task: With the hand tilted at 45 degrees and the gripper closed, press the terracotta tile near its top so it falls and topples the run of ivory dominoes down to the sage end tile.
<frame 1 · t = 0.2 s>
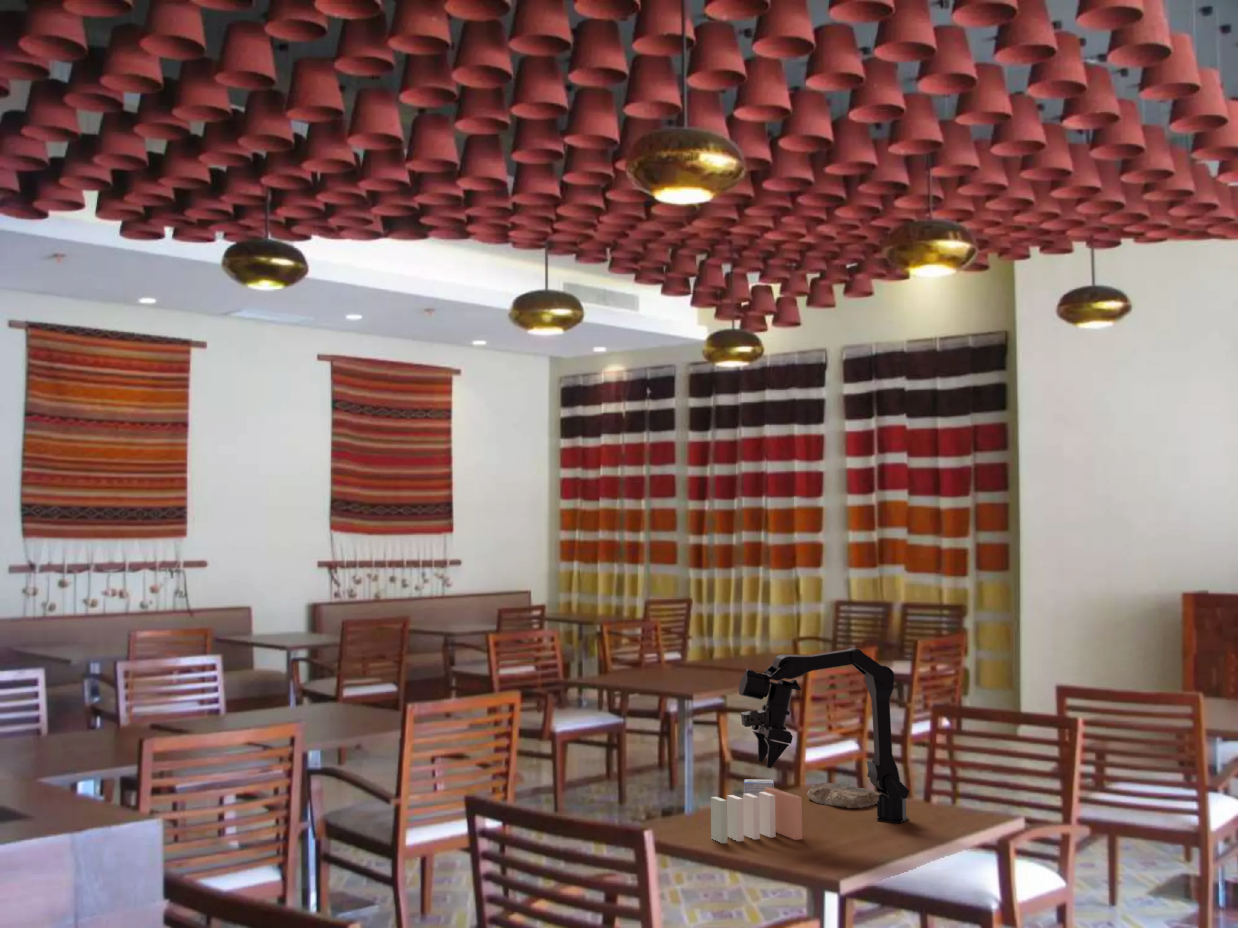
hand: (764, 764, 317), 15 cm above the table, tool pointing down, fingers open, 9 cm apart
ivory domino 3: (751, 836, 305), on the table
ivory domino 2: (767, 834, 307), on the table
terracotta tile: (783, 833, 309), on the table
flat grey rock: (839, 803, 345), on the table
ivory domino 4: (735, 838, 303), on the table
sage domino: (719, 840, 301), on the table
medicine box: (759, 814, 330), on the table
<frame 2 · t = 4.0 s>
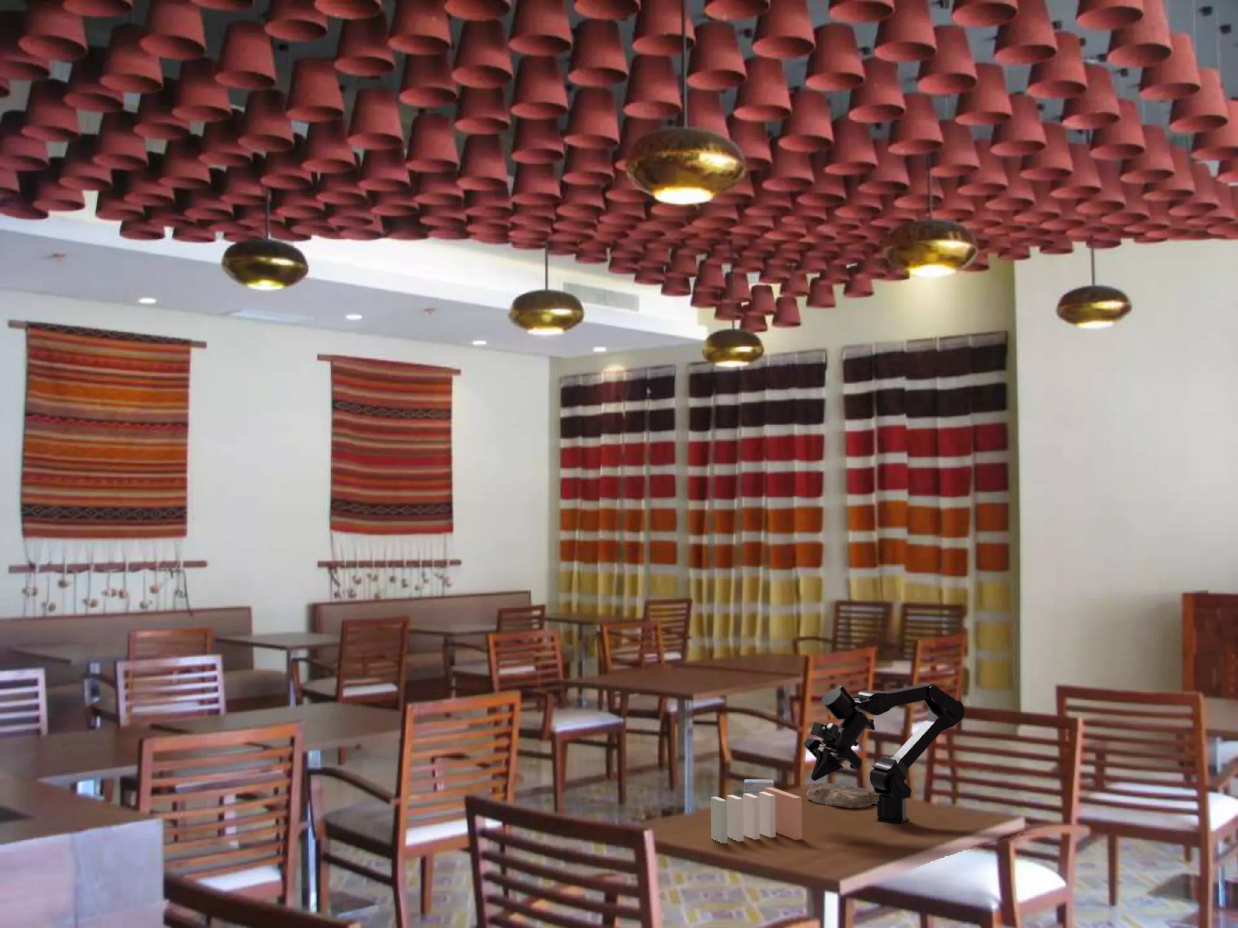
hand: (812, 779, 313), 12 cm above the table, tool tilted 45°, fingers closed
nothing on the table moved.
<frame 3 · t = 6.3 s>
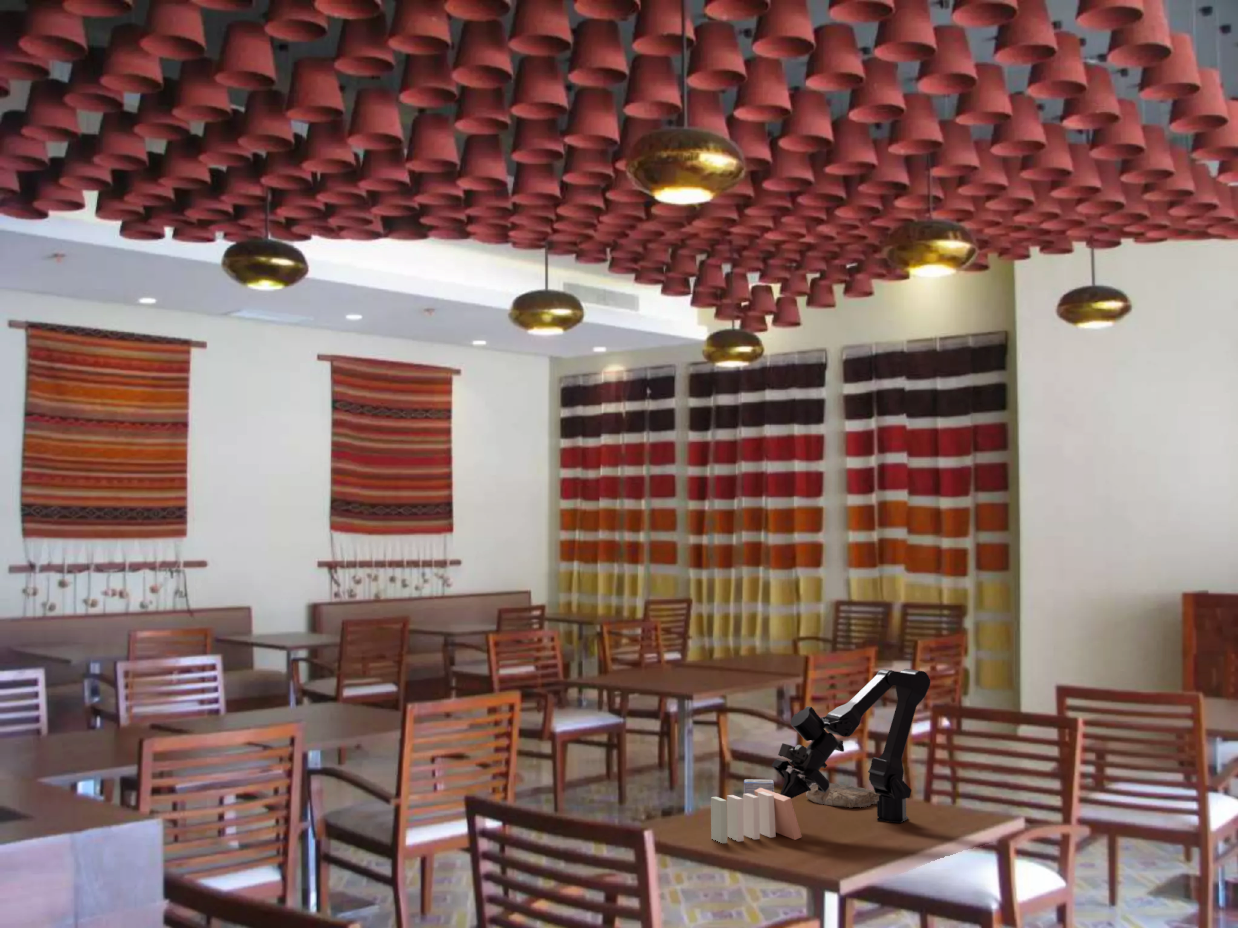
hand: (780, 801, 309), 8 cm above the table, tool tilted 45°, fingers closed
terracotta tile: (783, 832, 309), on the table, tilted 18°
everything else where it was.
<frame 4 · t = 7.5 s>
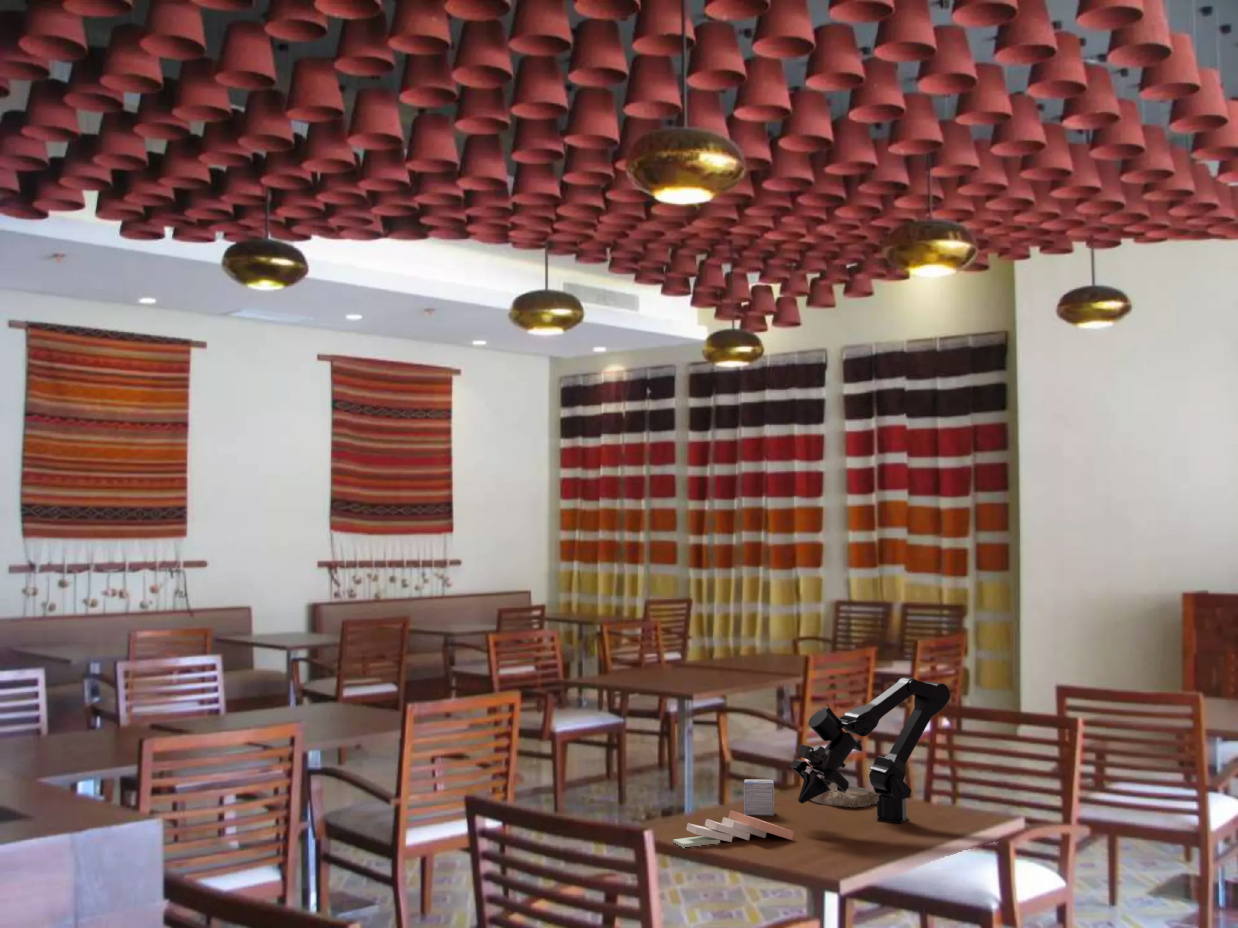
hand: (799, 802, 311), 7 cm above the table, tool tilted 45°, fingers closed
ivory domino 3: (743, 834, 304), point 1 cm above the table, tilted 69°, touching ivory domino 4
ivory domino 2: (760, 832, 306), point 1 cm above the table, tilted 69°, touching terracotta tile
terracotta tile: (776, 829, 308), point 1 cm above the table, tilted 69°, touching ivory domino 2
ivory domino 4: (727, 836, 302), point 1 cm above the table, tilted 74°, touching ivory domino 3, sage domino
sage domino: (714, 840, 301), on the table, tilted 90°, touching ivory domino 4
everything else where it was.
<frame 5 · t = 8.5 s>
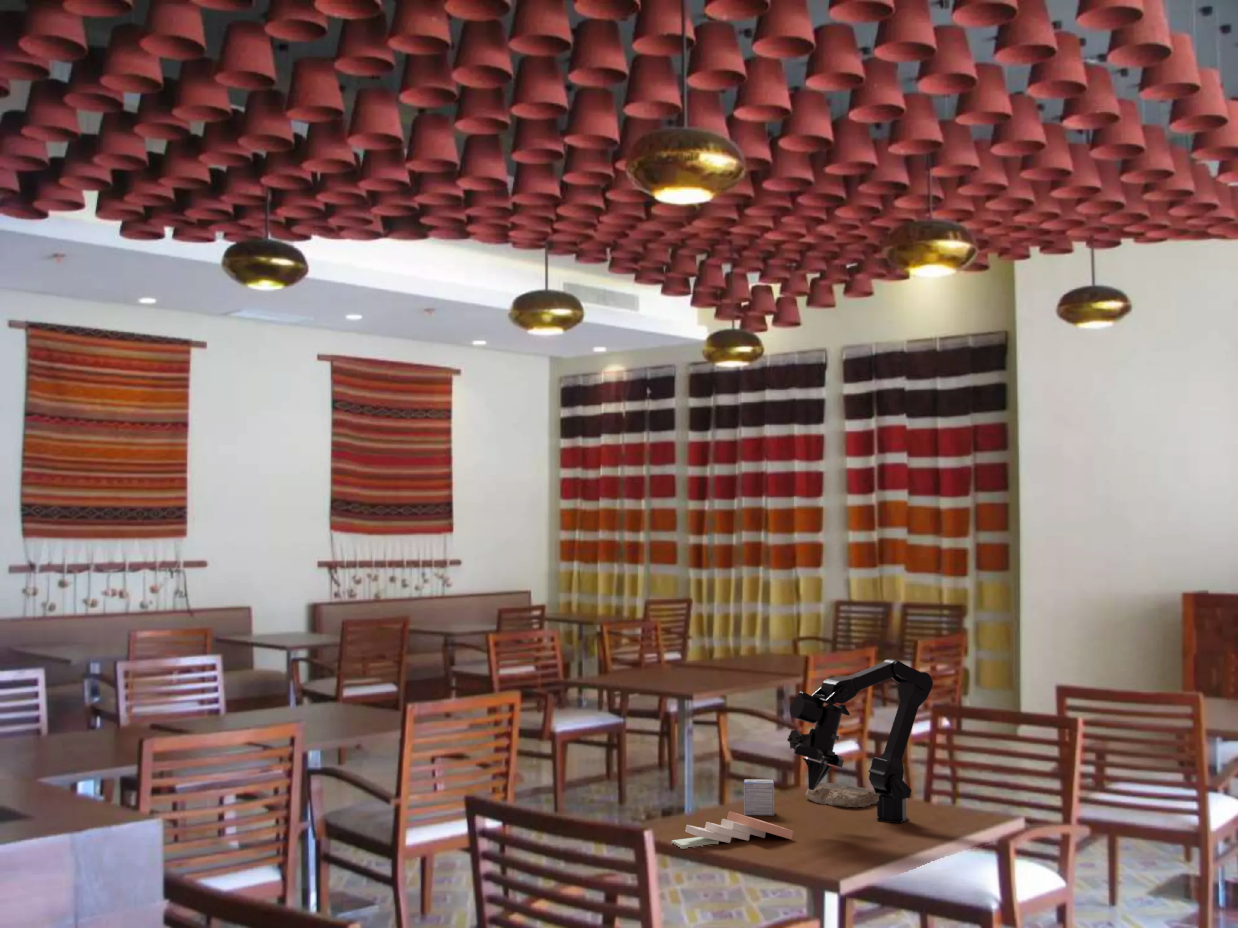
hand: (811, 789, 313), 10 cm above the table, tool tilted 20°, fingers closed
ivory domino 3: (742, 834, 303), point 1 cm above the table, tilted 72°, touching ivory domino 2, ivory domino 4
ivory domino 2: (759, 832, 306), point 1 cm above the table, tilted 71°, touching ivory domino 3, terracotta tile
ivory domino 4: (724, 837, 301), point 1 cm above the table, tilted 74°, touching ivory domino 3, sage domino
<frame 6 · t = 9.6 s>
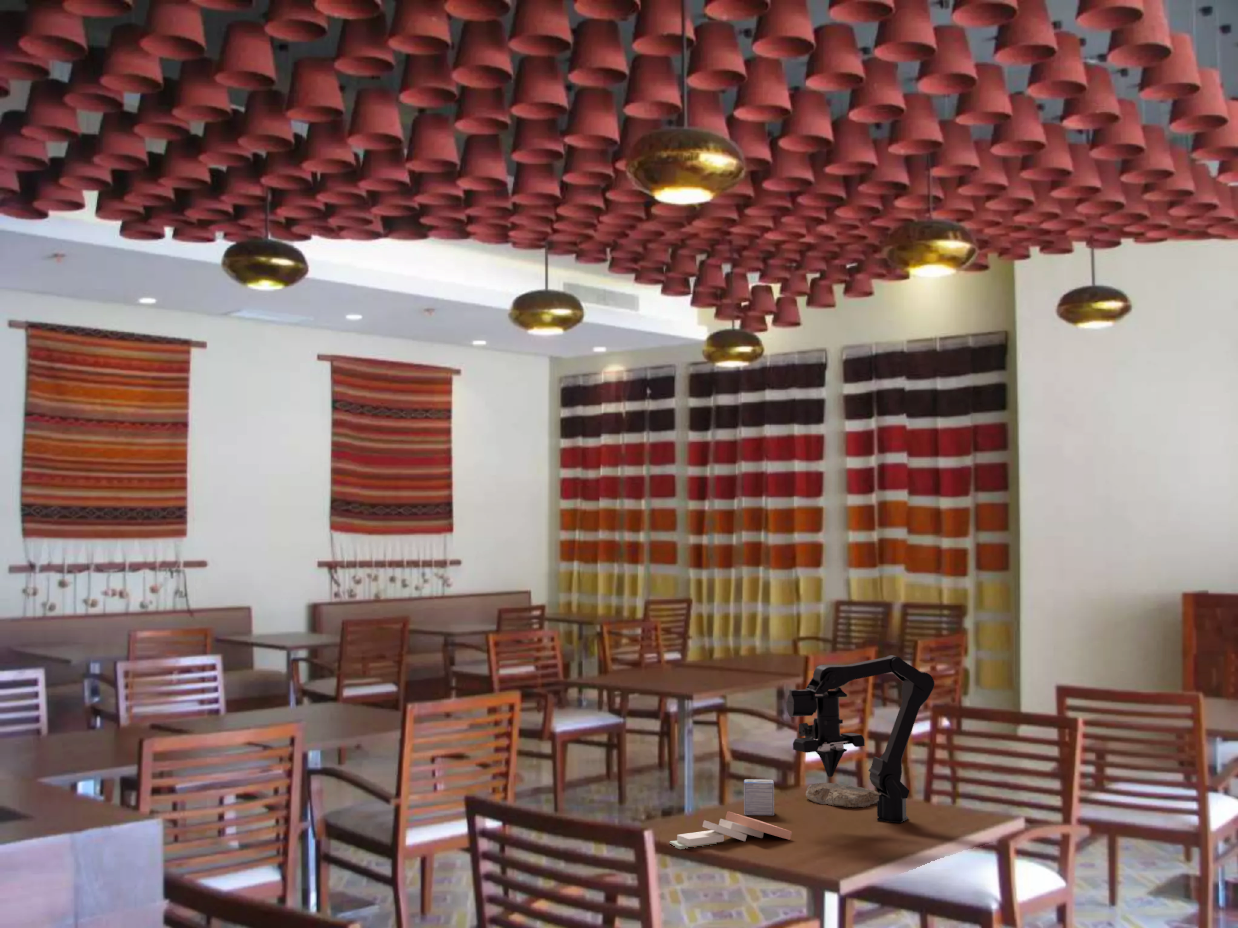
hand: (830, 776, 320), 12 cm above the table, tool pointing down, fingers closed
ivory domino 3: (739, 835, 303), point 1 cm above the table, tilted 68°, touching ivory domino 2
ivory domino 2: (757, 832, 306), point 1 cm above the table, tilted 71°, touching ivory domino 3
terracotta tile: (774, 829, 308), point 1 cm above the table, tilted 71°
ivory domino 4: (717, 835, 300), point 1 cm above the table, tilted 89°, touching sage domino
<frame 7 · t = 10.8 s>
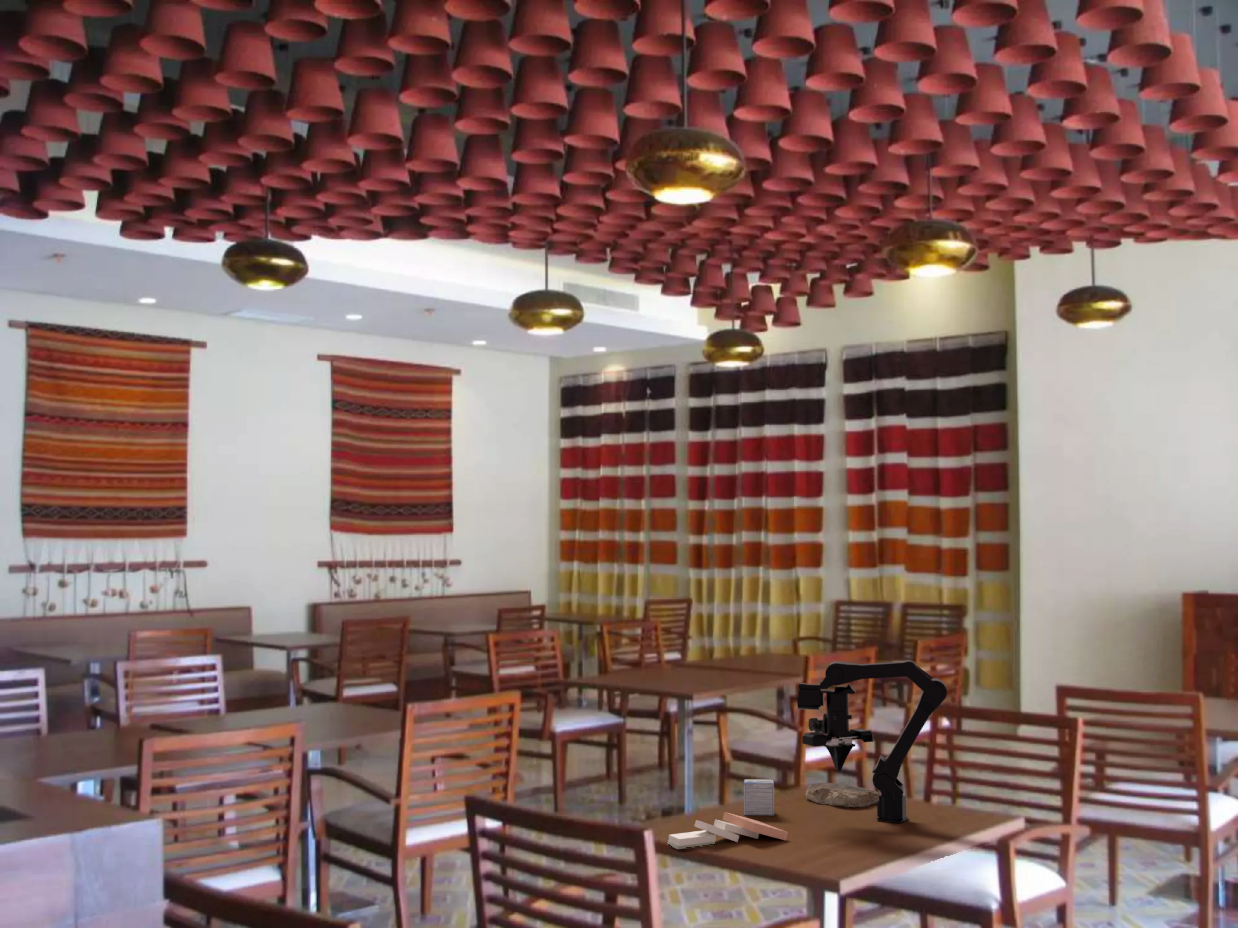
hand: (838, 770, 326), 12 cm above the table, tool pointing down, fingers closed
ivory domino 3: (732, 836, 302), point 1 cm above the table, tilted 67°, touching ivory domino 2, ivory domino 4
ivory domino 2: (752, 833, 306), point 1 cm above the table, tilted 72°, touching ivory domino 3
ivory domino 4: (710, 835, 300), point 2 cm above the table, tilted 90°, touching ivory domino 3, sage domino
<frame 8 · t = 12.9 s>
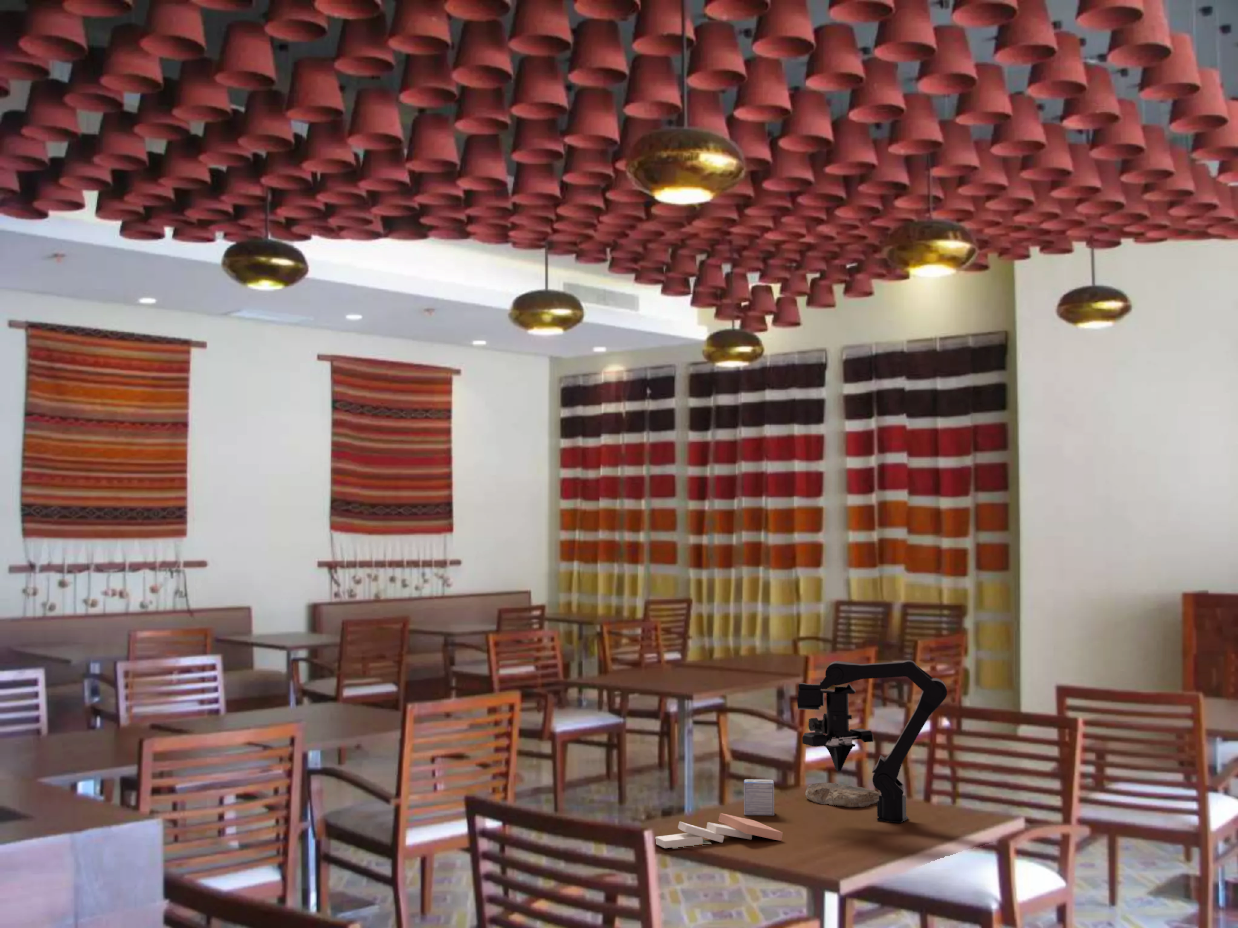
hand: (838, 770, 326), 12 cm above the table, tool pointing down, fingers closed
ivory domino 3: (719, 837, 301), point 1 cm above the table, tilted 71°, touching ivory domino 2, ivory domino 4
ivory domino 2: (747, 833, 305), point 1 cm above the table, tilted 76°, touching ivory domino 3, terracotta tile
terracotta tile: (767, 830, 307), point 1 cm above the table, tilted 74°, touching ivory domino 2
ivory domino 4: (697, 837, 299), point 1 cm above the table, tilted 90°, touching ivory domino 3, sage domino
at the end: sage domino tilted 90°; terracotta tile tilted 75°; medicine box moved 0.3 cm from its start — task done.
